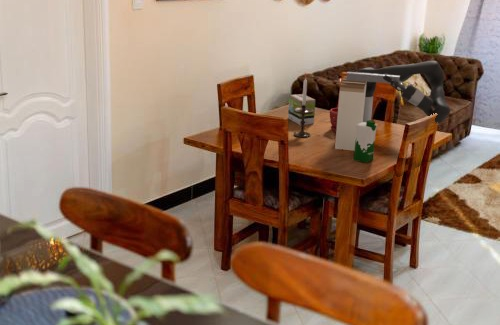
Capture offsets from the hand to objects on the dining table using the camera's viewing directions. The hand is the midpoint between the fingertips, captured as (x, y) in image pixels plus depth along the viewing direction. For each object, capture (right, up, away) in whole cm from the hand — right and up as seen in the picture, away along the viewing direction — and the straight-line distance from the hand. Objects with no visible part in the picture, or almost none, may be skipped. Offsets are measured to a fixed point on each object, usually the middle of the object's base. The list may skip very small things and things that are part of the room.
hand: (384, 75), depth 339 cm
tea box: (-37, -19, +60) cm, 74 cm away
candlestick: (-39, -29, +33) cm, 58 cm away
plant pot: (-16, -25, +45) cm, 54 cm away
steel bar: (-5, -2, +2) cm, 6 cm away
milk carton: (-11, -42, -4) cm, 44 cm away
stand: (-15, -33, +21) cm, 42 cm away
